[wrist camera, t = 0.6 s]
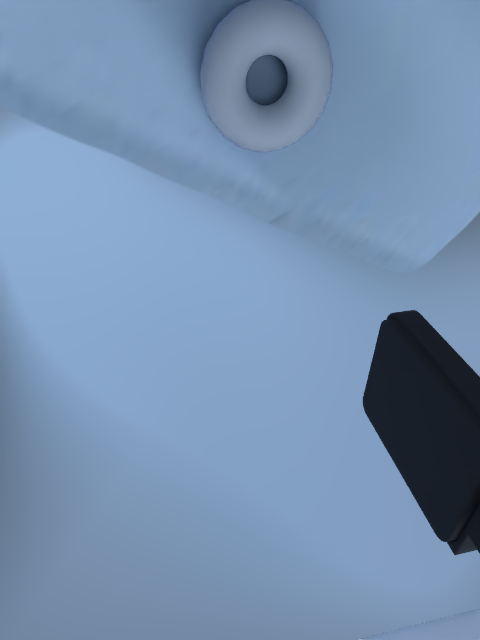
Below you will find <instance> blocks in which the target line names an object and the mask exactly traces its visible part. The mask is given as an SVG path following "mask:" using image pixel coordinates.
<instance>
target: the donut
mask: <svg viewBox="0 0 480 640" xmlns="http://www.w3.org/2000/svg"><path fill="white" fill-rule="evenodd" d="M263 55H273V56H276V57H278V58H279V59H280V60H282V61H283V63H284V64H285V66H286V69H287V73H288V83H287V86H286V89H285V92H284V93H283V95H282V96H281V98H280V99H278V100H277V101H276V102H275V103H273V104H270V105H266V106H263V105H259V104H257V103H255V102H254V101H253V100H252V99H251V98H250V96H249V95H248V93H247V90H246V77H247V73H248V70H249V68H250V66H251V65H252V63H253V62H254V61H255V60H256V59H258V58H259V57H261V56H263ZM332 72H333V63H332V57H331V52H330V47H329V42H328V40H327V38H326V36H325V34H324V32H323V30H322V29H321V27H320V25H319V23H318V21H317V20H316V19H314V18H313V17H312V16H311V15H310V14H309V13H308V12H307V11H306V10H305V9H304V8H303V7H302V6H300V5H298V4H296V3H293V2H291V1H288V0H251V1H248V2H246V3H244V4H242V5H240V6H238V7H235V8H234V9H233V10H232V11H231V12H230V13H229V14H228V15H227V16H226V17H225V18H224V19H223V20H222V21H221V22H220V23H219V24H218V25H217V26H216V28H215V30H214V32H213V34H212V36H211V38H210V40H209V42H208V43H207V45H206V47H205V51H204V56H203V61H202V66H201V71H200V80H201V93H202V99H203V102H204V105H205V107H206V110H207V113H208V115H209V118H210V120H211V121H212V123H213V124H214V125H215V126H216V128H217V129H218V130H219V132H220V133H221V134H222V135H223V136H224V137H225V138H227V139H228V140H230V141H231V142H233V143H234V144H236V145H237V146H239V147H241V148H245V149H249V150H253V151H257V152H265V151H275V150H280V149H282V148H284V147H286V146H289V145H291V144H293V143H295V142H297V141H298V140H299V139H300V138H301V137H303V136H304V135H305V134H306V133H307V132H308V131H309V130H311V129H312V127H313V126H314V124H315V123H316V121H317V120H318V118H319V117H320V115H321V114H322V112H323V111H324V108H325V105H326V102H327V99H328V97H329V94H330V91H331V84H332Z"/></svg>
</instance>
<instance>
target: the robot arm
mask: <svg viewBox="0 0 480 640" xmlns="http://www.w3.org/2000/svg"><path fill="white" fill-rule="evenodd" d="M363 407H364V410H365V413H366V414H367V416H368V418H369V420H370V422H371V423H372V425H373V427H374V428H375V430H376V432H377V434H378V435H379V437H380V439H381V441H382V442H383V444H384V446H385V448H386V449H387V451H388V453H389V454H390V456H391V458H392V460H393V461H394V463H395V465H396V467H397V468H398V470H399V472H400V473H401V475H402V477H403V479H404V480H405V482H406V484H407V486H408V487H409V489H410V491H411V492H412V494H413V496H414V497H415V499H416V501H417V503H418V504H419V506H420V508H421V510H422V511H423V513H424V515H425V517H426V518H427V520H428V522H429V523H430V525H431V527H432V529H433V530H434V532H435V534H436V535H437V537H438V538H439V539H440V540H441V541H443V542H447V543H448V545H449V546H450V548H451V550H452V552H453V553H454V555H458V554H462V553H466V552H470V551H474V550H478V552H479V553H480V377H479V376H478V375H477V374H476V373H475V372H474V371H473V369H472V368H471V367H470V366H469V365H468V364H467V363H466V362H465V361H464V360H463V359H462V358H461V357H460V356H459V355H458V354H457V352H456V351H455V350H454V349H453V348H452V347H451V346H450V345H449V344H448V343H447V342H446V341H445V340H444V339H443V337H441V335H440V334H439V333H438V332H437V331H436V330H435V329H434V328H433V327H432V326H431V325H430V324H429V323H428V322H427V320H425V319H424V317H423V316H422V315H421V314H420V313H419V312H417V311H415V310H411V311H403V312H396V313H392V314H390V315H389V316H388V317H387V320H384V321H383V322H382V323H381V326H380V330H379V335H378V338H377V343H376V347H375V351H374V355H373V359H372V363H371V367H370V371H369V375H368V380H367V384H366V388H365V392H364V396H363ZM359 640H480V609H477V610H473V611H469V612H465V613H460V614H457V615H453V616H449V617H445V618H441V619H437V620H433V621H429V622H425V623H421V624H417V625H414V626H410V627H406V628H402V629H398V630H394V631H391V632H386V633H382V634H379V635H375V636H371V637H367V638H363V639H359Z"/></svg>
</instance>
